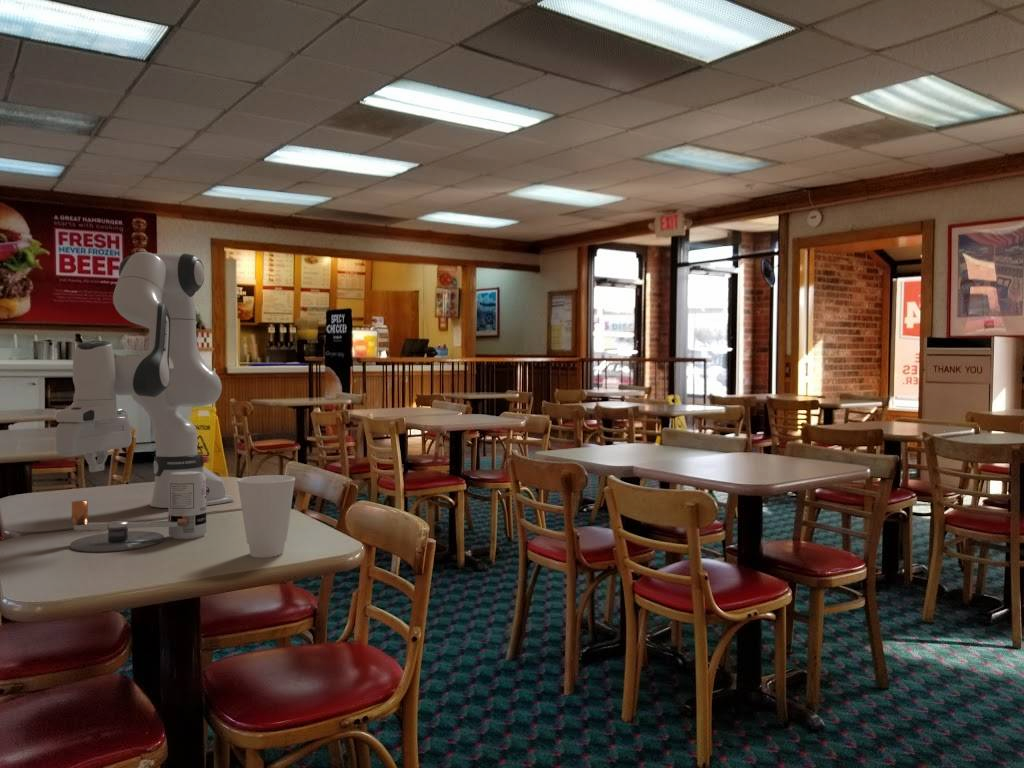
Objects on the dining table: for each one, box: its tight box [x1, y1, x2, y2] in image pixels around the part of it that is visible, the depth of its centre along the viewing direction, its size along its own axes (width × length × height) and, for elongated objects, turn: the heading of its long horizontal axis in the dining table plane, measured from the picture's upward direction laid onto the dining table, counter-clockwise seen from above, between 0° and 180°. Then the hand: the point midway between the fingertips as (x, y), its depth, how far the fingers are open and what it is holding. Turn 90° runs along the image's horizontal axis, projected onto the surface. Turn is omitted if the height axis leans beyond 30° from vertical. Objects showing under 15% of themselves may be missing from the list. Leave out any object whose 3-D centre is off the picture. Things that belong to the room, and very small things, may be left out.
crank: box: [71, 500, 188, 531], centre depth 183 cm, size 25×4×6 cm, turn 98°
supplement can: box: [167, 471, 207, 540], centre depth 189 cm, size 8×8×15 cm
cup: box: [237, 474, 296, 558], centre depth 172 cm, size 12×12×16 cm
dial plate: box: [69, 528, 165, 553], centre depth 183 cm, size 19×19×3 cm
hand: (96, 471), depth 187 cm, fingers closed
